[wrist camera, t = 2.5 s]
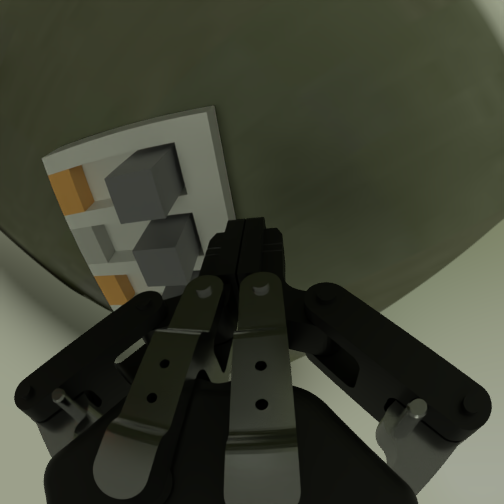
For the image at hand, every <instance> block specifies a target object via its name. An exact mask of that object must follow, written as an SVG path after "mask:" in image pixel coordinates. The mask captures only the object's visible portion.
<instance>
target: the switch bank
mask: <svg viewBox="0 0 504 504" xmlns="http://www.w3.org/2000/svg"><path fill="white" fill-rule="evenodd" d="M173 142H175V147H176V151H177V155H178V159H179V163H180V167H181V171H182V175H183V179H184V183H185V186H184V188H183V190H182V191H181V193H180V195H179V196H178V198H177V200H176V201H175V203H174V205H173V206H172V208H171V210H170V212H169V213H168V215H175V214H183V213H193V217H194V220H195V224H196V228H197V231H198V235H199V238H200V242H201V248H200V251H199V254H198V257H197V260H196V263H195V266H194V269H193V271H196V270H200V269H201V266H202V263H203V260H204V257H205V254H206V250H207V247H208V244H209V241H210V240H211V238H212V237H213V236H214V235H215V234H216V233H221V232H225V229H226V225H227V222H228V220H236V217H235V212H234V207H233V201H232V196H231V191H230V186H229V181H228V175H227V170H226V165H225V160H224V154H223V149H222V144H221V138H220V133H219V128H218V122H217V117H216V112H215V106H214V105H213V106H208V107H202V108H197V109H192V110H187V111H182V112H177V113H172V114H168V115H164V116H159V117H155V118H151V119H147V120H143V121H139V122H136V123H132V124H128V125H125V126H121V127H118V128H114V129H111V130H108V131H105V132H101V133H98V134H95V135H92V136H89V137H86V138H83V139H80V140H78V141H75V142H72V143H69V144H67V145H64V146H61V147H59V148H57V149H56V150H54V151H53V152H51V153H49V154H48V155H46V156H45V157H43V158H42V161H43V163H44V166H45V169H46V172H47V174H48V177H49V180H50V182H51V185H52V188H53V190H54V193H55V195H56V198H57V200H58V202H59V205H60V207H61V210H62V212H63V214H64V216H65V219H66V221H67V223H68V225H69V228H70V230H71V232H72V234H73V236H74V238H75V240H76V242H77V245H78V247H79V249H80V251H81V253H82V255H83V257H84V259H85V261H86V262H87V264H88V266H89V268H90V270H91V272H92V274H93V276H94V278H95V279H96V281H97V283H98V285H99V287H100V288H101V290H102V292H103V294H104V296H105V297H106V299H107V301H108V302H109V304H110V306H111V308H112V309H113V311H115V310H116V309H118V308H119V307H121V306H122V305H123V304H125V303H126V302H128V301H129V300H130V299H132V298H133V297H134V296H136V295H138V294H139V293H142V292H145V291H156V292H158V293H160V294H161V296H162V294H163V291H164V289H165V286H154V287H148V286H147V284H146V282H145V280H144V277H143V275H142V273H141V271H140V268H139V266H138V264H137V262H136V259H135V257H134V255H133V252H132V250H133V249H134V247H135V245H136V244H137V242H138V240H139V239H140V237H141V235H142V234H143V232H144V231H145V229H146V227H147V226H148V224H149V223H150V221H151V220H148V221H140V222H133V223H126V224H121V223H120V221H119V218H118V215H117V213H116V210H115V208H114V205H113V202H112V199H111V197H110V194H109V191H108V188H107V186H106V183H105V180H104V178H106V177H107V176H108V175H109V174H110V173H111V172H112V171H113V170H115V169H116V168H117V167H118V166H119V165H120V164H121V163H123V162H124V161H125V160H126V159H127V158H129V157H130V156H131V155H132V154H133V153H135V152H136V151H137V150H140V149H145V148H149V147H154V146H158V145H163V144H168V143H173Z"/></svg>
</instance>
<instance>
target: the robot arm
mask: <svg viewBox="0 0 504 504" xmlns="http://www.w3.org/2000/svg"><path fill="white" fill-rule="evenodd" d="M237 324H238V331H236V330H237ZM141 338H143V340H144V342H145V343H146V344H144V345H143V346H142V347H141V348H139V349H138V350H137V351H135V352H134V353H133V354H132V355H130V356H129V357H128V358H126V359H125V360H124V361H122V362H121V363H117V364H116V363H114V362H115V359H116V358H117V356H119V355H120V354H121V353H123V352H124V351H125V350H126V349H128V348H129V347H130V346H131V345H133V344H134V343H135V342H137V341H138V340H139V339H141ZM289 349H292V350H296V351H300V352H305V353H306V356H307V357H308V359H309V360H310V361H311V362H313V363H314V364H315V365H316V366H317V367H318V368H319V369H320V370H321V371H322V372H323V373H324V374H325V375H327V376H328V377H329V378H330V379H331V380H332V381H333V382H334V383H335V384H336V385H338V386H339V387H340V388H341V389H342V390H343V391H345V392H346V394H348V395H349V396H350V397H351V398H352V399H353V400H354V401H356V402H357V403H358V404H359V405H360V406H361V407H362V408H363V409H365V410H366V411H367V412H368V413H369V414H370V415H371V416H373V417H374V418H375V419H376V420H377V421H378V422H379V425H378V427H377V429H376V440H377V443H378V445H379V446H380V447H381V448H382V450H383V451H384V453H385V455H386V458H387V464H386V463H385V462H384V461H383V460H382V459H381V458H380V457H379V456H377V454H376V453H375V452H373V451H372V450H371V449H370V448H369V447H368V446H367V445H366V444H365V443H364V442H363V441H362V440H361V439H360V438H359V437H358V436H357V435H356V434H355V433H354V432H353V431H352V430H351V429H350V428H349V427H348V426H347V425H346V424H345V423H344V422H343V421H342V420H341V419H340V418H339V417H338V416H337V415H336V414H335V413H334V412H333V411H332V410H331V409H330V408H329V407H328V406H327V404H326V403H324V402H323V401H322V400H321V399H320V398H318V397H317V396H316V395H314V394H312V393H311V392H309V391H307V390H304V389H302V388H299V387H296V386H292V376H291V366H290V356H289ZM231 365H232V373H231V381H228V380H229V374H230V370H231ZM14 400H15V404H16V406H17V407H18V408H19V409H21V410H22V411H23V412H24V413H25V414H27V415H28V416H29V417H30V418H31V419H32V420H33V421H34V422H36V424H37V425H38V428H39V431H40V433H41V435H42V438H43V440H44V442H45V444H46V446H47V449H48V451H49V453H50V455H51V457H52V459H51V460H50V461H49V463H48V465H47V467H46V471H45V474H44V489H45V494H46V500H47V504H418V501H417V498H416V495H417V494H418V493H419V492H420V491H421V489H422V488H423V487H424V486H425V485H426V484H427V483H428V482H429V481H430V479H431V478H432V477H433V476H434V475H435V474H436V472H437V471H438V470H439V469H440V468H441V466H442V465H443V464H444V463H445V461H446V460H447V459H448V457H449V456H450V455H451V454H452V452H453V451H454V450H455V448H456V447H457V446H458V445H459V444H460V443H462V442H463V441H464V440H466V439H467V438H468V437H469V436H471V435H472V434H473V433H474V432H476V431H477V430H478V429H479V428H480V427H481V426H483V425H484V424H485V423H486V421H487V420H488V418H489V416H490V413H491V409H492V405H491V399H490V396H489V394H488V393H487V391H486V390H485V389H484V388H483V387H482V386H480V385H479V384H478V383H476V382H475V381H473V380H472V379H471V378H470V377H468V376H467V375H466V374H464V373H463V372H461V371H460V370H459V369H457V368H456V367H455V366H453V365H452V364H450V363H449V362H448V361H446V360H445V359H444V358H442V357H441V356H439V355H438V354H436V353H435V352H434V351H432V350H431V349H430V348H428V347H427V346H426V345H424V344H423V343H421V342H420V341H418V340H417V339H416V338H414V337H413V336H411V335H410V334H409V333H407V332H406V331H404V330H403V329H402V328H400V327H399V326H397V325H396V324H394V323H393V322H392V321H390V320H389V319H387V318H386V317H384V316H383V315H382V314H380V313H379V312H377V311H376V310H374V309H373V308H372V307H370V306H369V305H367V304H366V303H364V302H363V301H362V300H360V299H359V298H357V297H356V296H354V295H353V294H351V293H350V292H348V291H347V290H346V289H344V288H343V287H341V286H339V285H337V284H334V283H328V282H324V283H318V284H315V285H313V286H311V287H310V288H309V289H308V290H307V291H302V290H298V289H295V288H292V287H291V286H289V285H288V284H287V283H286V282H285V257H284V247H283V237H282V234H281V232H280V231H279V230H278V228H268V229H266V226H265V219H264V217H258V218H247V219H236V220H228V222H227V225H226V229H225V232H221V233H216V234H215V235H214V236H213V237H212V238H211V240H210V241H209V244H208V247H207V250H206V254H205V257H204V260H203V263H202V266H201V269H200V273H199V276H198V277H197V278H195V279H193V280H192V281H190V282H189V283H188V284H187V285H186V287H185V289H184V292H183V294H182V295H179V296H176V297H172V298H169V299H165V300H163V298H162V296H161V294H160V293H158V292H156V291H145V292H142V293H139V294H138V295H136V296H134V297H133V298H132V299H130V300H129V301H128V302H126V303H125V304H123V305H122V306H121V307H119V308H118V309H116V310H115V311H114V312H112V313H111V314H110V315H108V316H107V317H106V318H104V319H103V320H102V321H100V322H99V323H97V324H96V325H95V326H94V327H92V328H91V329H89V330H88V331H87V332H85V333H84V334H83V335H81V336H80V337H79V338H77V339H76V340H75V341H73V342H72V343H71V344H69V345H68V346H67V347H65V348H64V349H63V350H61V351H60V352H59V353H57V354H56V355H55V356H53V357H52V358H51V359H50V360H48V361H47V362H46V363H44V364H43V365H42V366H40V367H39V368H38V369H37V370H35V371H34V372H33V373H31V374H30V375H29V376H28V377H26V378H25V379H24V380H23V381H22V382H21V383H20V384H19V385H18V387H17V389H16V391H15V396H14Z"/></svg>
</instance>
